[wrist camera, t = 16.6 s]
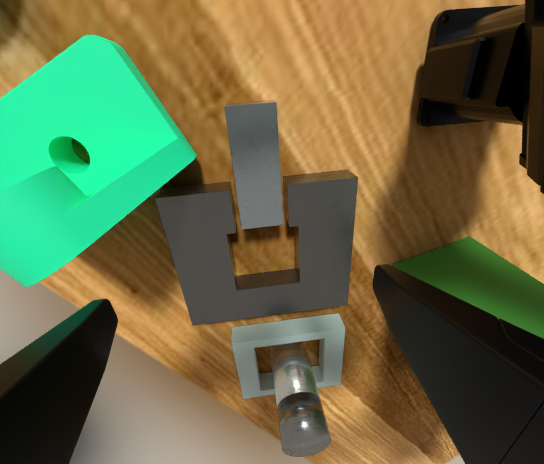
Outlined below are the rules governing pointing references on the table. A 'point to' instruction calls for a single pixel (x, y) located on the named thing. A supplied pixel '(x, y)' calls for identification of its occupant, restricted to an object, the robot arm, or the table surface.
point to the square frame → (285, 332)
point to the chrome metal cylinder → (298, 401)
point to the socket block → (270, 285)
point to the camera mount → (68, 166)
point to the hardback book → (482, 282)
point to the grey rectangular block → (256, 162)
